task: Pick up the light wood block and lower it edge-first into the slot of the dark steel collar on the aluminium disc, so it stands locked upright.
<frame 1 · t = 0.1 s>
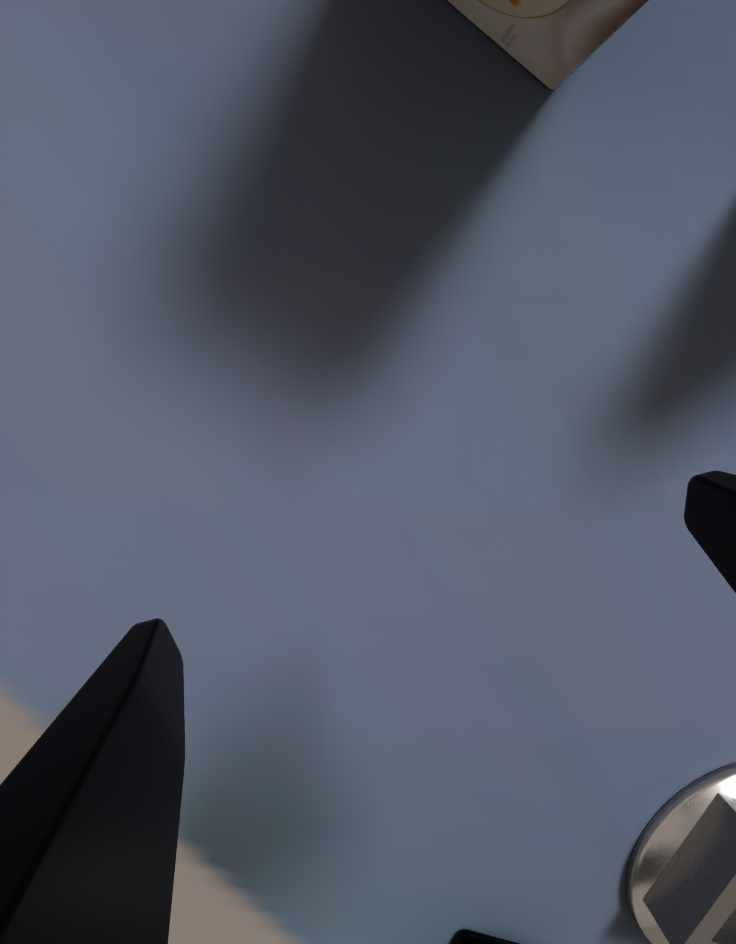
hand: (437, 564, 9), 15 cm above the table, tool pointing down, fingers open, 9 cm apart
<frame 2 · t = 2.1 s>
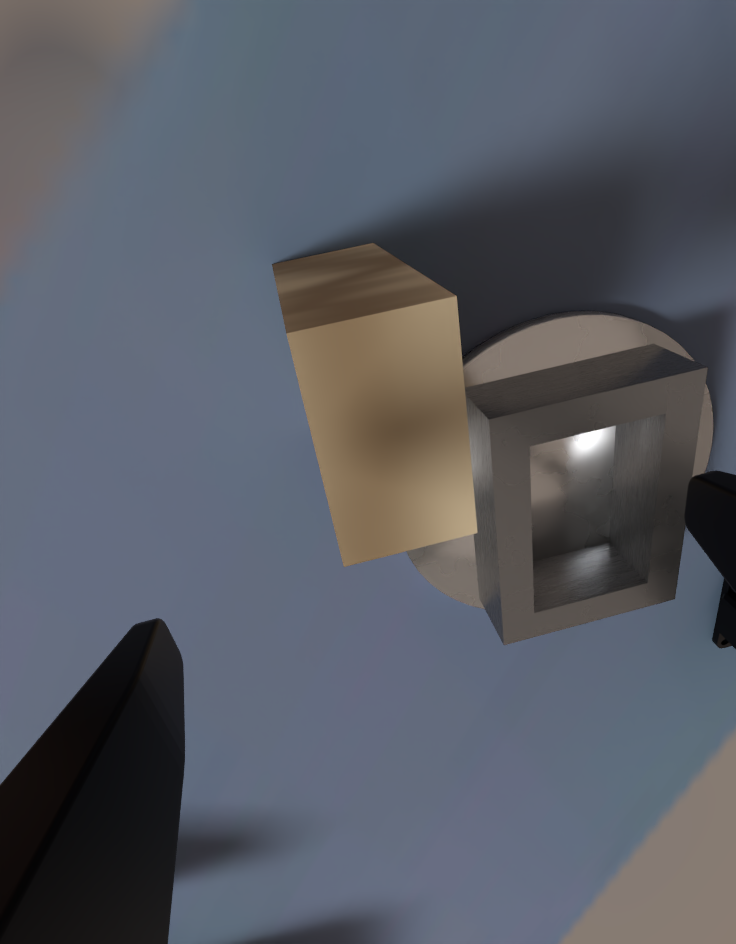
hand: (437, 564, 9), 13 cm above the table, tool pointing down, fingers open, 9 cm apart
light wood block: (339, 339, 20), on the table
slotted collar: (549, 474, 25), on the table
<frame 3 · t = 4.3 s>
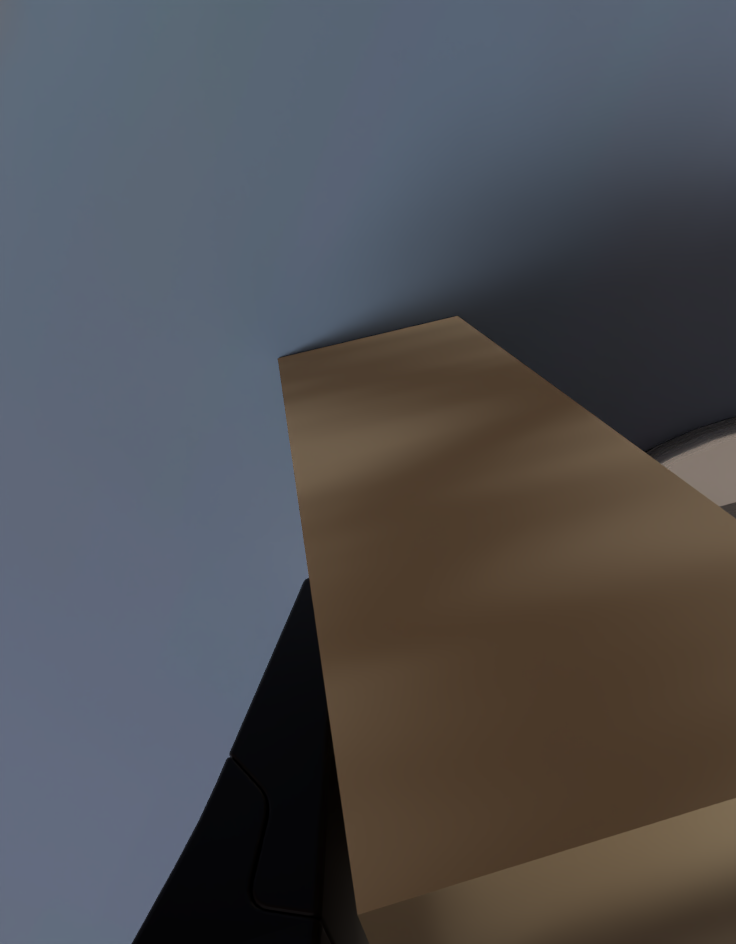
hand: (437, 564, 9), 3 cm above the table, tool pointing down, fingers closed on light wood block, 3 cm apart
light wood block: (393, 471, 12), on the table, touching gripper
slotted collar: (696, 635, 17), on the table
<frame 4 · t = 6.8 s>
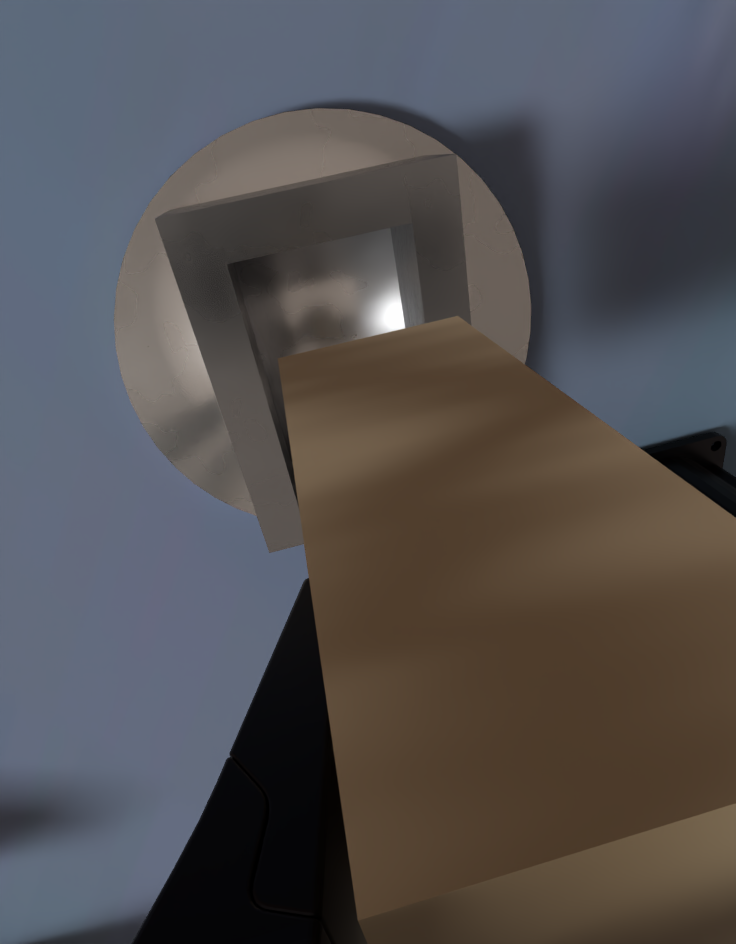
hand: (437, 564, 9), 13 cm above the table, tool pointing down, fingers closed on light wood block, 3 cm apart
light wood block: (393, 472, 12), point 10 cm above the table, touching gripper
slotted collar: (333, 346, 20), on the table
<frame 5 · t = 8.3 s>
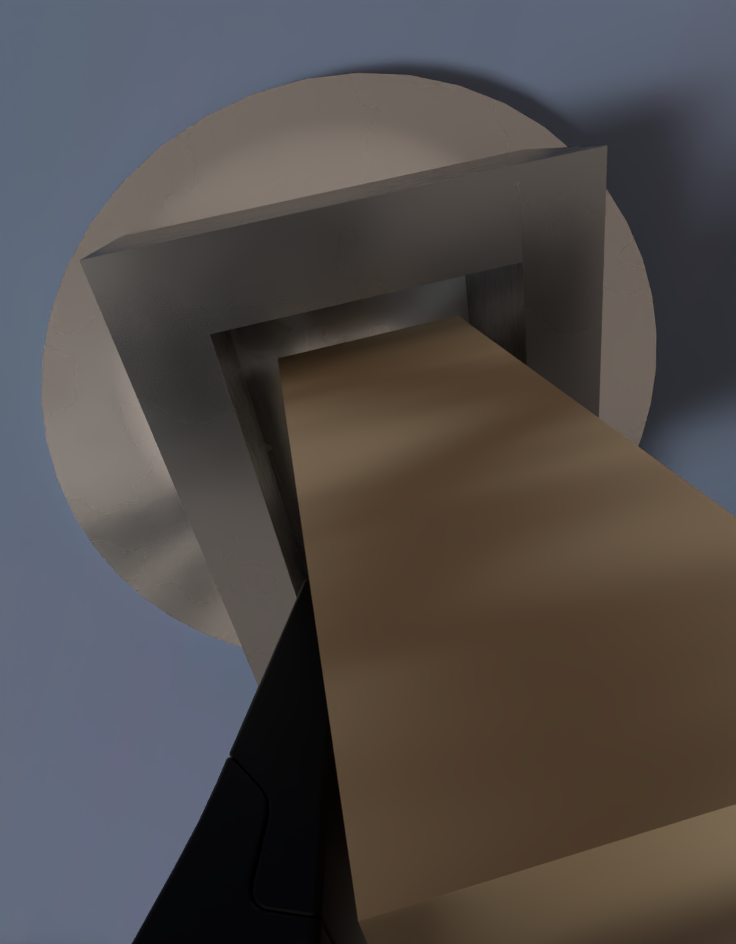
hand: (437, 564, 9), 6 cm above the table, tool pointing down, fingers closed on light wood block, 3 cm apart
light wood block: (393, 472, 12), point 2 cm above the table, touching gripper
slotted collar: (369, 425, 14), on the table
when the fingers open (5 cm above the table, at t = 9.3 s): light wood block stays where it is, resting on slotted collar.
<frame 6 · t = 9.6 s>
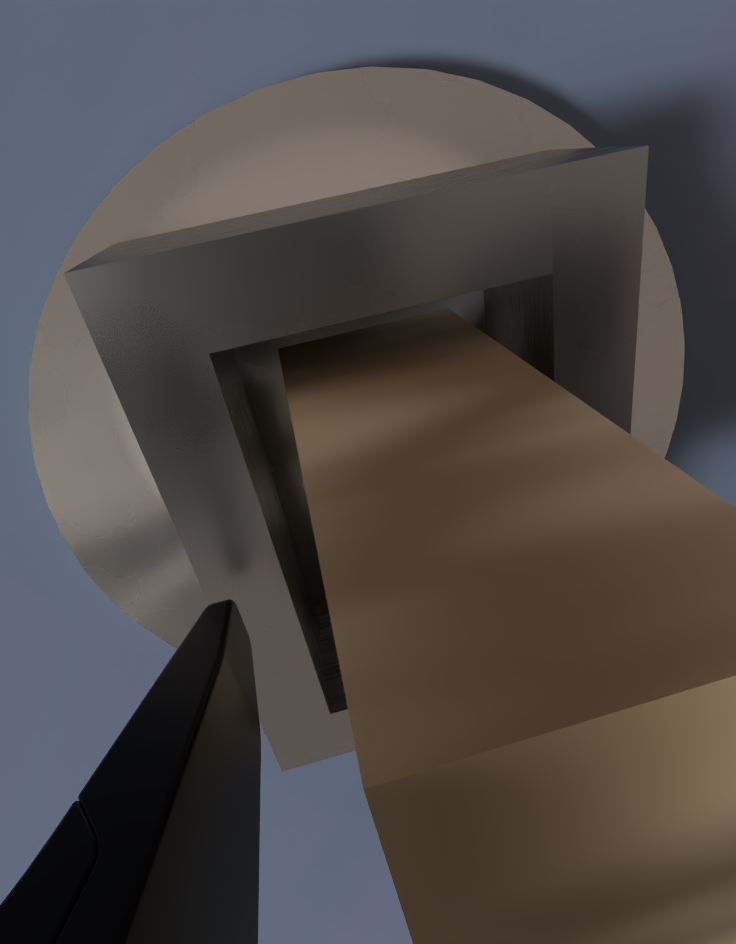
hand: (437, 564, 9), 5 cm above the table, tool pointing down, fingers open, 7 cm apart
light wood block: (388, 458, 13), point 1 cm above the table, touching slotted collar
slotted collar: (378, 442, 13), on the table
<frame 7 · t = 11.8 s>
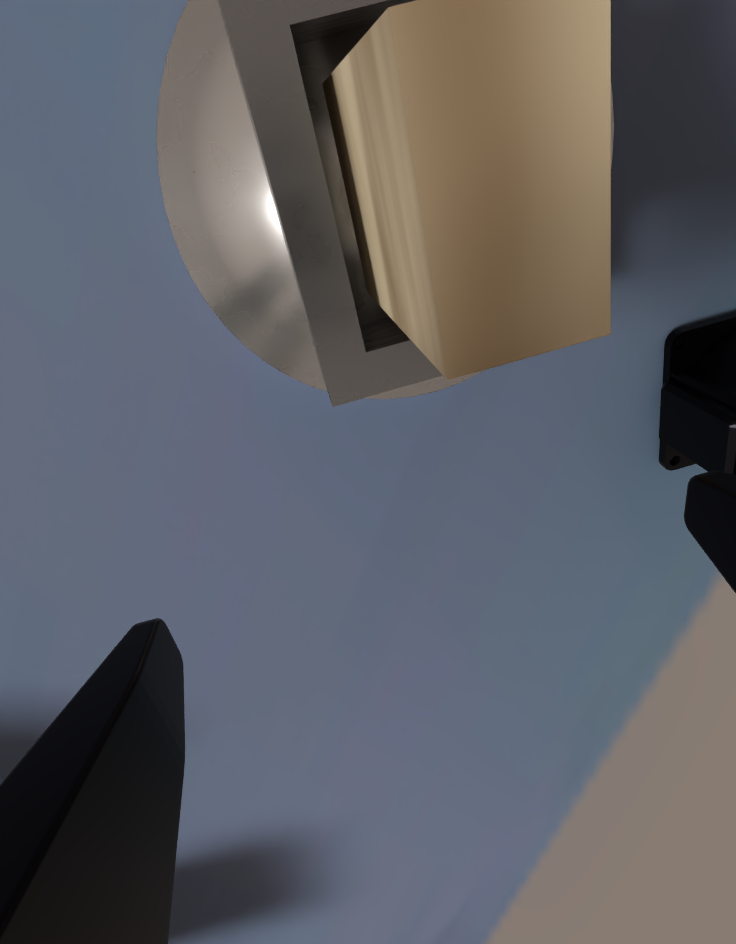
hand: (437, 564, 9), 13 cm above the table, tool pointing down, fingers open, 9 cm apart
light wood block: (400, 183, 18), point 1 cm above the table, touching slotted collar
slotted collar: (393, 182, 18), on the table
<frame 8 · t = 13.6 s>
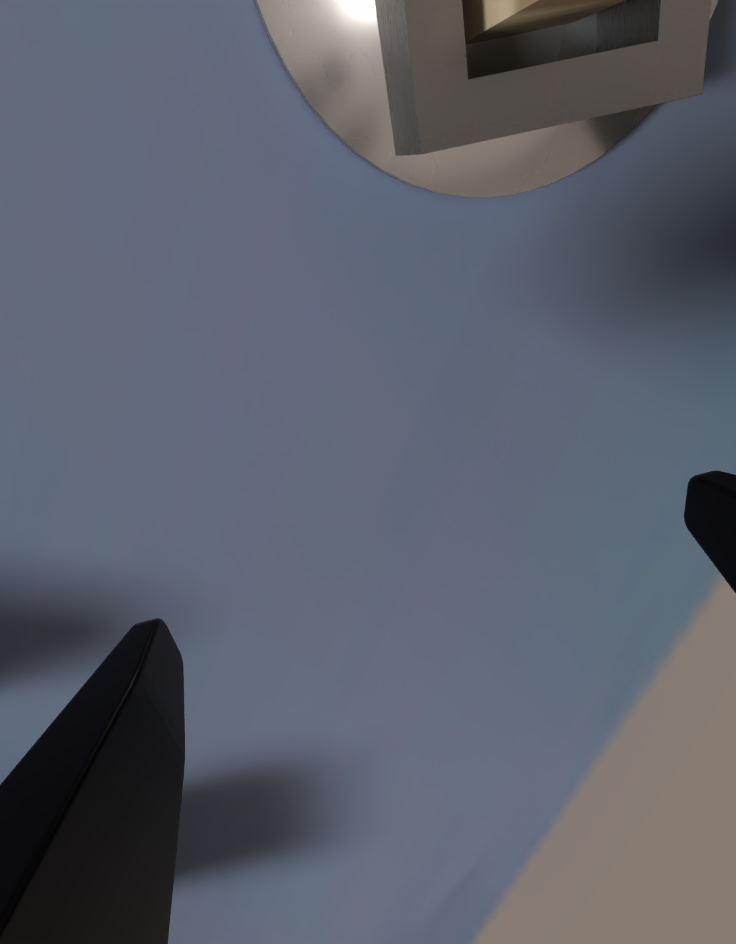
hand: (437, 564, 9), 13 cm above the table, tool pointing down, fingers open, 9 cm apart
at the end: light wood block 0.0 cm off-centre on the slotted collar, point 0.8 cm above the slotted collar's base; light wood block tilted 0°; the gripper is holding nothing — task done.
